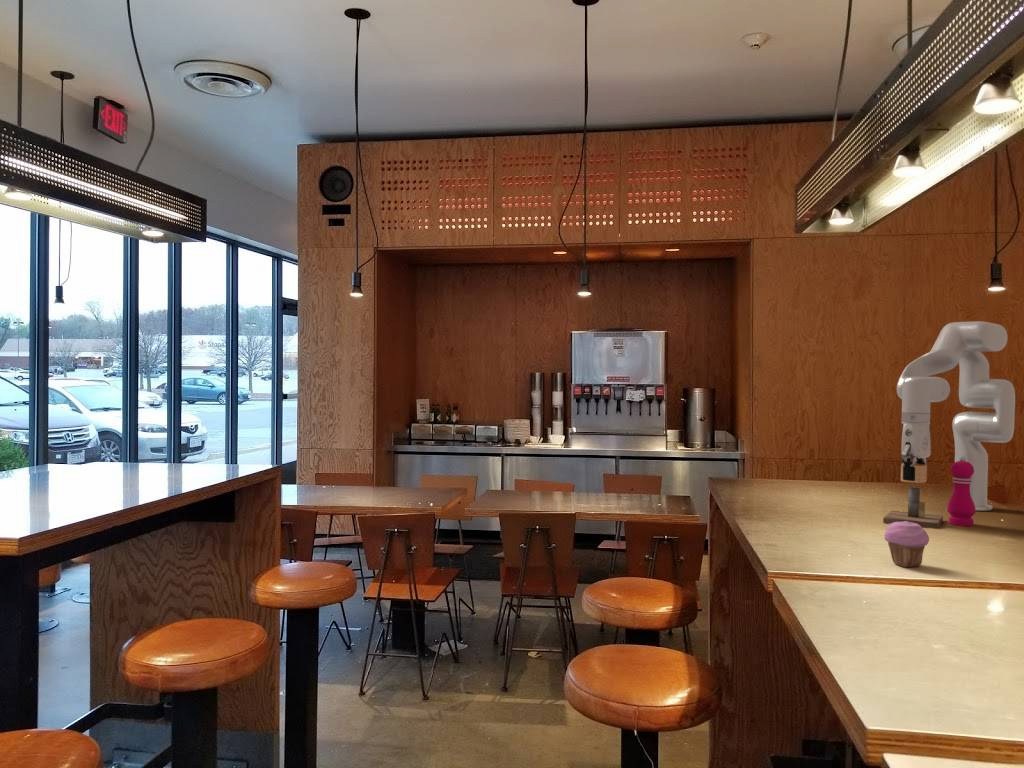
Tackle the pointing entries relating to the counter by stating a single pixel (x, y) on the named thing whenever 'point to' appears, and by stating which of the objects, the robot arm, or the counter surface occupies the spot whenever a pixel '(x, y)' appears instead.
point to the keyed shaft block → (914, 512)
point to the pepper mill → (961, 494)
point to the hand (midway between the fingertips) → (914, 478)
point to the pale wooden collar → (917, 473)
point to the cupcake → (906, 543)
